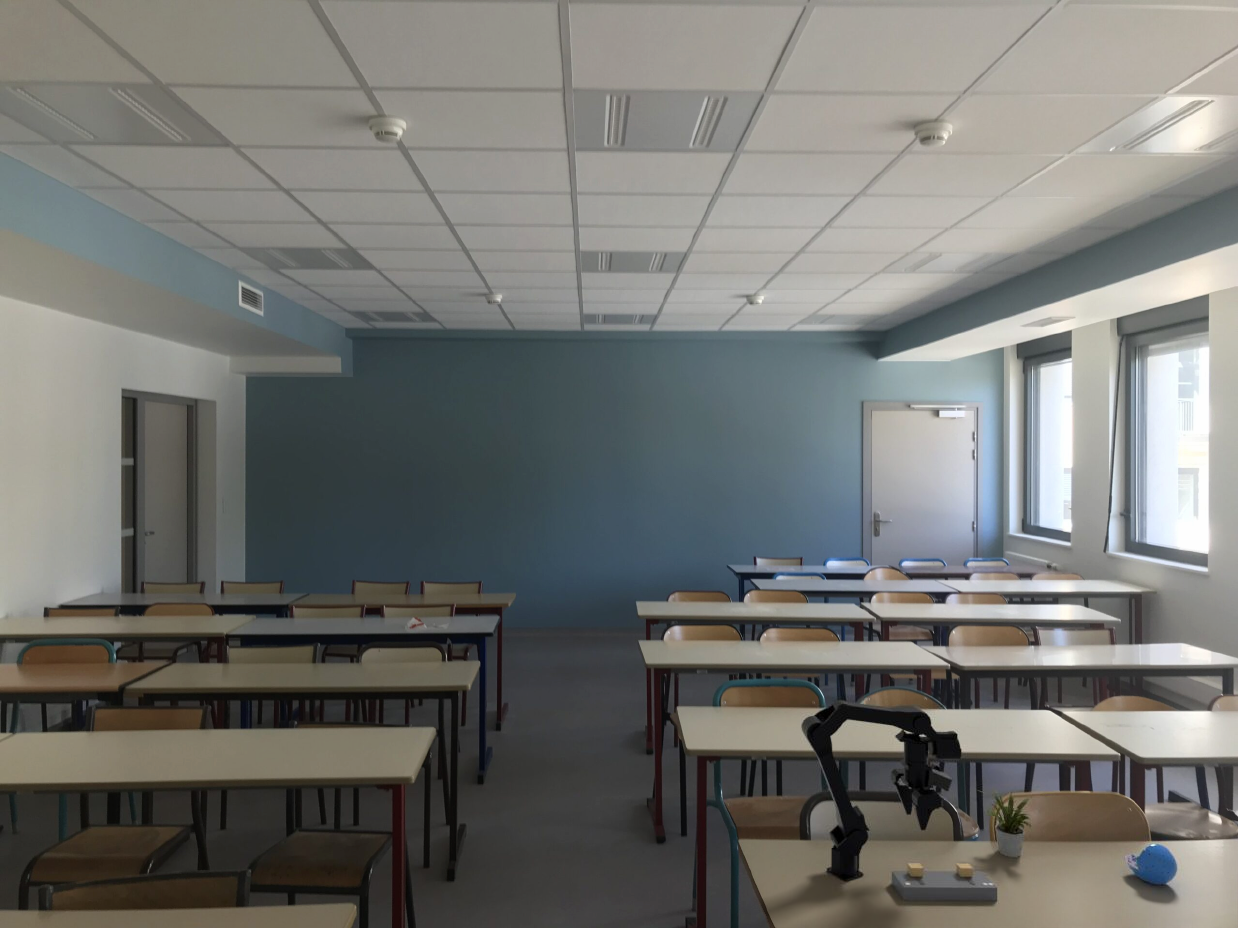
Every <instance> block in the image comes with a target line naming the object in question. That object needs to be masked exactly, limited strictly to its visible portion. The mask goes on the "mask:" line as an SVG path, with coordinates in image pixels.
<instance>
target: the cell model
mask: <svg viewBox="0 0 1238 928" xmlns="http://www.w3.org/2000/svg"><path fill="white" fill-rule="evenodd" d="M1123 858H1124V860H1125V861H1126V864H1127V865H1128V867H1129V869H1130V870H1131V871H1132V872H1133V874H1134V875H1136V876H1137V877H1138V878H1140V880H1143V881H1144V882H1147V883H1149V884H1153V885H1165V884H1168V883H1169V882H1172V881H1173V879H1174V878H1175V877H1176V875H1177V872H1178V863H1177V860H1176V859H1175V856H1174V855H1173V853H1172V852H1171V850H1170V849H1168V848H1167V847H1166V846H1164V845H1161V844H1158V843H1157V844H1155V843H1154V844H1151V845H1147V846H1146V847H1145V849H1142V851H1141V852H1140V854H1137V853H1136V854H1135V853H1134V854H1132V853H1131V854H1127V855H1125V856H1123Z"/></svg>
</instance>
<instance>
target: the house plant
mask: <svg viewBox="0 0 1238 928" xmlns="http://www.w3.org/2000/svg"><path fill="white" fill-rule="evenodd" d="M976 790H977V789H976ZM977 791H978V792H979V790H977ZM1013 791H1014V790H1012V791H1010V794H1009V797H1008V802H1007V805H1004V802H1003V799H1002V796H1001V795H1000V794H999V792H998V791H996V790H994V792H993V791H991V793H992V795H993V797H994V798H995V800H996V801H994V800H993V798H992V797H991V796H990V795H989V794H987V793H986V792H984V791H981V790H980V793H983V794H985V795H987V796H988V797H989V798H990V799H991V801H990V803H991V806H993V807H994V809H995V810H996V811H994V810H991V809H989V810H988V809H987V810H986V811H985V813H988V815H989V816H992V819H996V820H997V821H998V823H997V824H996V825H995V826H994V829H995V835H996V840H997V841H996V842H997V846H998V847H997V848H998V851H999V853H1000V854H1001V855H1003V856H1006V857H1009V858H1019V857H1021V854H1022V849H1023V844H1024V838H1025V833H1026V832H1025V825H1026V826H1027V827H1028V828H1029V829H1030V830H1032V826H1031V823H1029V822H1028V821H1025V820H1030V821H1031V817H1029V816H1030V814H1029V813H1021V812H1022V811H1023V810H1025V809H1026V808H1030V807H1031V805H1028V806H1026V805H1027V803H1028V801H1029V800H1031V799H1032V798H1033V796H1030V797H1025V799H1024V800H1022V801H1021V802H1019V805H1018V806H1016V807H1015V808H1014V805H1015V803H1016V802H1017V801H1018V800H1020V799H1021V797H1020V798H1017V799H1016V800H1014V796H1013ZM997 795H998V796H997ZM992 802H993V803H994V804H995V805H994V804H993V803H992ZM998 806H999V807H998ZM996 812H997V813H996ZM1028 815H1029V816H1028ZM995 817H996V818H995ZM1024 824H1025V825H1024ZM1018 856H1019V857H1018Z"/></svg>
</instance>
